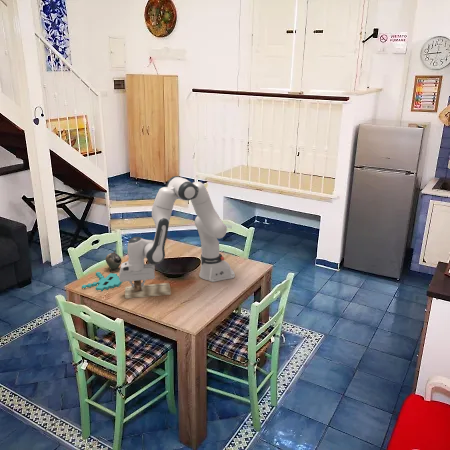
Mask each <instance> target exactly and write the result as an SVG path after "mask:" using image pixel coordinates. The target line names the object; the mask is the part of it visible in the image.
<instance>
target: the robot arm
mask: <svg viewBox="0 0 450 450" xmlns="http://www.w3.org/2000/svg"><path fill="white" fill-rule="evenodd" d="M178 198H179V199H180V200H182V201H191V204H192V207H193V210H194V212H195V215H197V216H195V219H194V225H195V228H196V229H197V232H198V235H199V240H200V244H201V245H200V246H201V247H200V248H201V254H200V271H199V275H198V277H200V278H201V279H203V280H206V281H209V282H211V283H216V282H219V281H225V280H231V279H234V278H235V277H236V275H235V271H234V269H232V268H231V265H230V263H229V262H228V261H226V260H225V257H224V256H223V255H222V254H221V253H220V241H219V239H223V238H224V237H225V236H226V234H227V231H228V228H227V226H226V224H225V223H224V222H223V221H222V219H221V217H220V216H219V214H218V212H217V211H216V209H215V207H214V205H213V203H212V200H211V198H210V195H209V192H208V190H207V188H206V186H205V184H204V183H203V182H201V181H193V182H192V181H190V180H188V179H186V178H184V177H181V176H178V175H175V176H172V177H170V178H169V179H168V180H167V183H166V184H165V186H163V187H161V188H159V189H158V192H157V193H156V196H155V198H154V201H153V204H152V207H151V218H152V220H153V222H154V225H155V235H154V239H144V238H142V237H140V236H134V237H131V238H130V239H129V240H128V241H127V256H128V260H127V261H124V262H121V264H120V270H119V274H118V276H119V281H120V282H122V283H123V282H124V283H126V282H129V284H130V286H132V287H134V281H137V280H141V281H142V282H141V287H143V286H144V285H145V283H146V281H147V280H148V281H149V280H154V279H155V277H156V276H155V275H156V273H155V270H156V267H155V266H156V265H158V264H161V263H162V262H163V261H164V260H165V257H166V252H165V247H166V242H167V237H168V232H169V225H170V222H171V221H170V220H171V216H172V212H173V209H174V205H175V202H176V201H177V199H178ZM145 259H146V260H147V261H148V263H145Z"/></svg>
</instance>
